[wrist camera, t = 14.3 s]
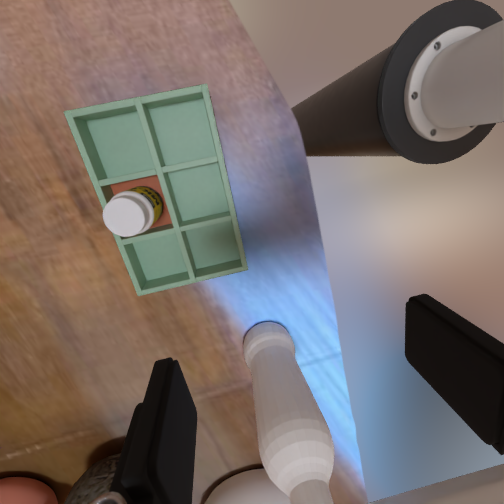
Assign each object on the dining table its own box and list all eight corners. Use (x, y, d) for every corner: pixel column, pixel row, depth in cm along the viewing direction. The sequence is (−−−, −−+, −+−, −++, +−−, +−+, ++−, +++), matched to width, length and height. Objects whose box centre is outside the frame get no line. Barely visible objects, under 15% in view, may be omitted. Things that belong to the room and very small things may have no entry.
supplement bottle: (170, 197, 34) (157, 209, 26) (154, 228, 35) (137, 249, 28) (134, 178, 33) (109, 184, 25) (119, 211, 34) (90, 227, 26)
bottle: (270, 365, 47) (355, 677, 19) (232, 347, 44) (264, 674, 16) (298, 332, 45) (436, 619, 17) (260, 311, 43) (348, 605, 15)
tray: (207, 90, 31) (206, 83, 28) (245, 260, 39) (248, 270, 36) (79, 116, 31) (63, 111, 27) (144, 284, 39) (137, 296, 35)
